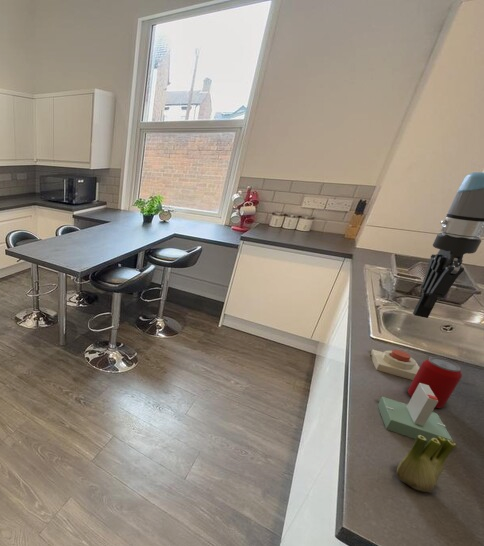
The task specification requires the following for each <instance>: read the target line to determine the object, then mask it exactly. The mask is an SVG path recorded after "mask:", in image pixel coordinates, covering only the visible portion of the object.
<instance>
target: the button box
mask: <svg viewBox="0 0 484 546" xmlns="http://www.w3.org/2000/svg"><path fill="white" fill-rule="evenodd" d="M391 352H392V350H387V349H386V350H384V351H381V350H376V349H372V350H371V352H370V354H369V356H370V358H371V360H372V364H373V365H374V368H375V370H376V371H379V372H383V373H387V374H389V375H394V376H398V377H401V378H405V379H408V380H412V381H413V379H414V377H415V376H416V374H417V372H418V370H419V368H420V366H419V364H418V363H417V361H416V360H415V359H414V358H413V357H411V358H410V360H409V362H403V361H399V360H397V359H394V358H393V357H391V356H390V355H391Z"/></svg>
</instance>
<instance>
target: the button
mask: <svg viewBox="0 0 484 546" xmlns="http://www.w3.org/2000/svg"><path fill="white" fill-rule="evenodd" d="M391 351H392V352H391V355H390V356H391V357H393V358H394V359H397V360H399V361H403V362H409V360H410V358H412V356H411V354H409V353H407V352H406V351H403V350H399V349H392V350H391Z"/></svg>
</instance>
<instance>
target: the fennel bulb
mask: <svg viewBox="0 0 484 546" xmlns="http://www.w3.org/2000/svg"><path fill="white" fill-rule="evenodd" d="M426 442H427V439H426V438H425V437H423V436H422V435H418V436H417V438H416V439H414V442H413V444H412V446H411V448H410V449H409V451H408V453H407V454H406V455H405V456H404V457H403V459H401V460H400V462H399V463H398V465H397V468H396V476H397V478H398V479H399V480H400V481H402V482H403V483H405V484H406V485H408V486H409V487H411V488H412V489H413V490H416V491H418V492H421V493H431V492H432V491H433V489H434V488H435V486H436V484H437V482H438V481H439V479H440V476H441V474H442V472H443V470H444V467H445V462H446V460H447V458H448V457H449V455H450V454H451V453H452V451H453V450H454V449H455V448H456V447H457V446H458V445H457V443H456V442H454V441H451V440H445V438H442V437H440V436H438V437H437V439H436V438H432V439H431V440H430V441H429V442H428V443H426Z"/></svg>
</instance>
